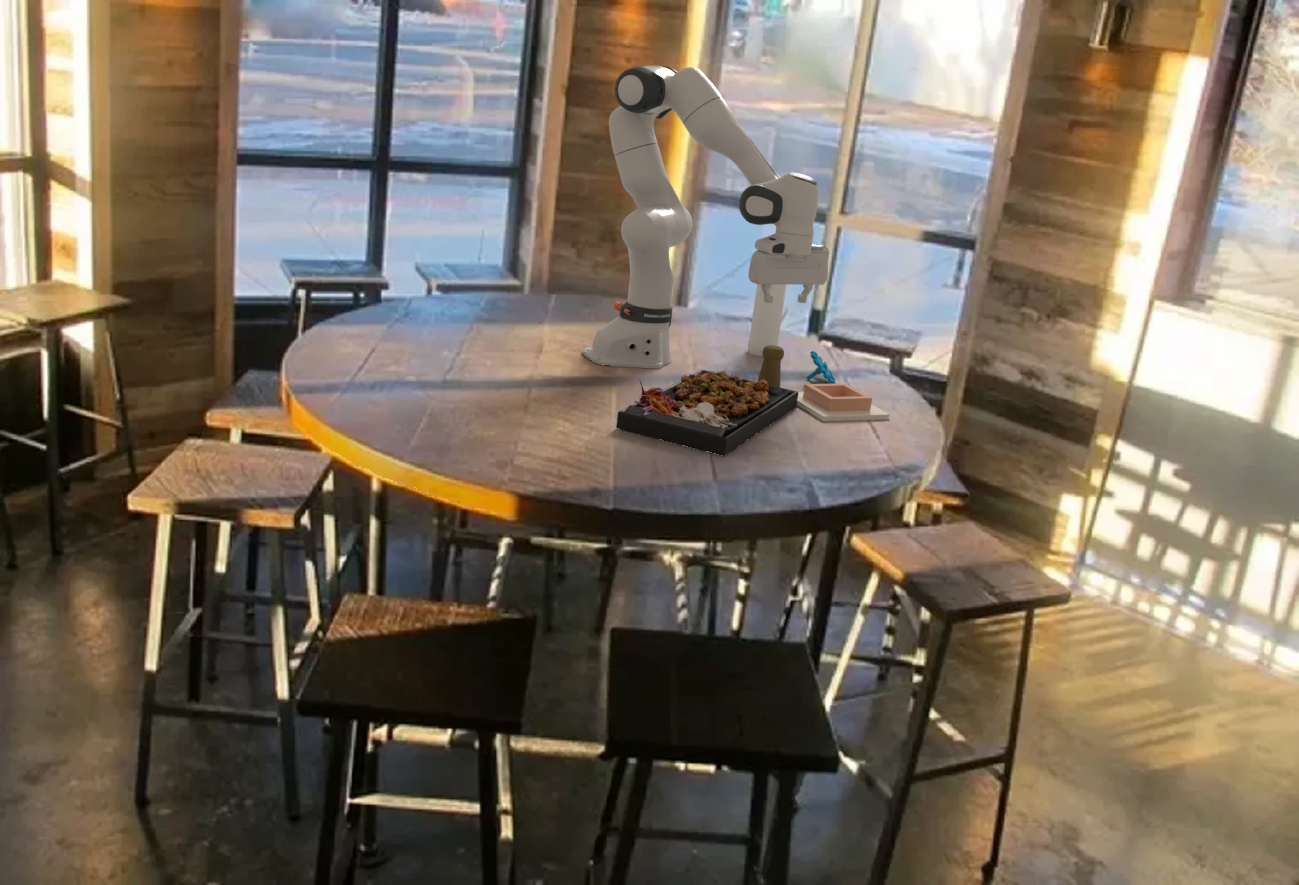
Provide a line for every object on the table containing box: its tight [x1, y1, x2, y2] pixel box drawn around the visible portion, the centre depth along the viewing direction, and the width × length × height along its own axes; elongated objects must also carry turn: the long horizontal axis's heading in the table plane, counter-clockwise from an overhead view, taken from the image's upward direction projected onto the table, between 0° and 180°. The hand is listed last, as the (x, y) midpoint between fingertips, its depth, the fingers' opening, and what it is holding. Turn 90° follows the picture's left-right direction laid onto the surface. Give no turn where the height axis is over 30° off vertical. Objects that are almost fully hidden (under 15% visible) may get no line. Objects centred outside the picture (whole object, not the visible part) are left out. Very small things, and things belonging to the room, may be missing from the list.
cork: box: [756, 345, 785, 388], centre depth 296 cm, size 6×6×11 cm
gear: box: [805, 350, 837, 384], centre depth 310 cm, size 11×6×10 cm
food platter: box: [615, 369, 799, 457], centre depth 270 cm, size 45×25×10 cm, turn 155°
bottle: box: [747, 284, 788, 358], centre depth 327 cm, size 8×8×30 cm
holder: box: [797, 383, 891, 422], centre depth 288 cm, size 18×18×4 cm
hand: (784, 302), depth 291 cm, fingers open, 8 cm apart
